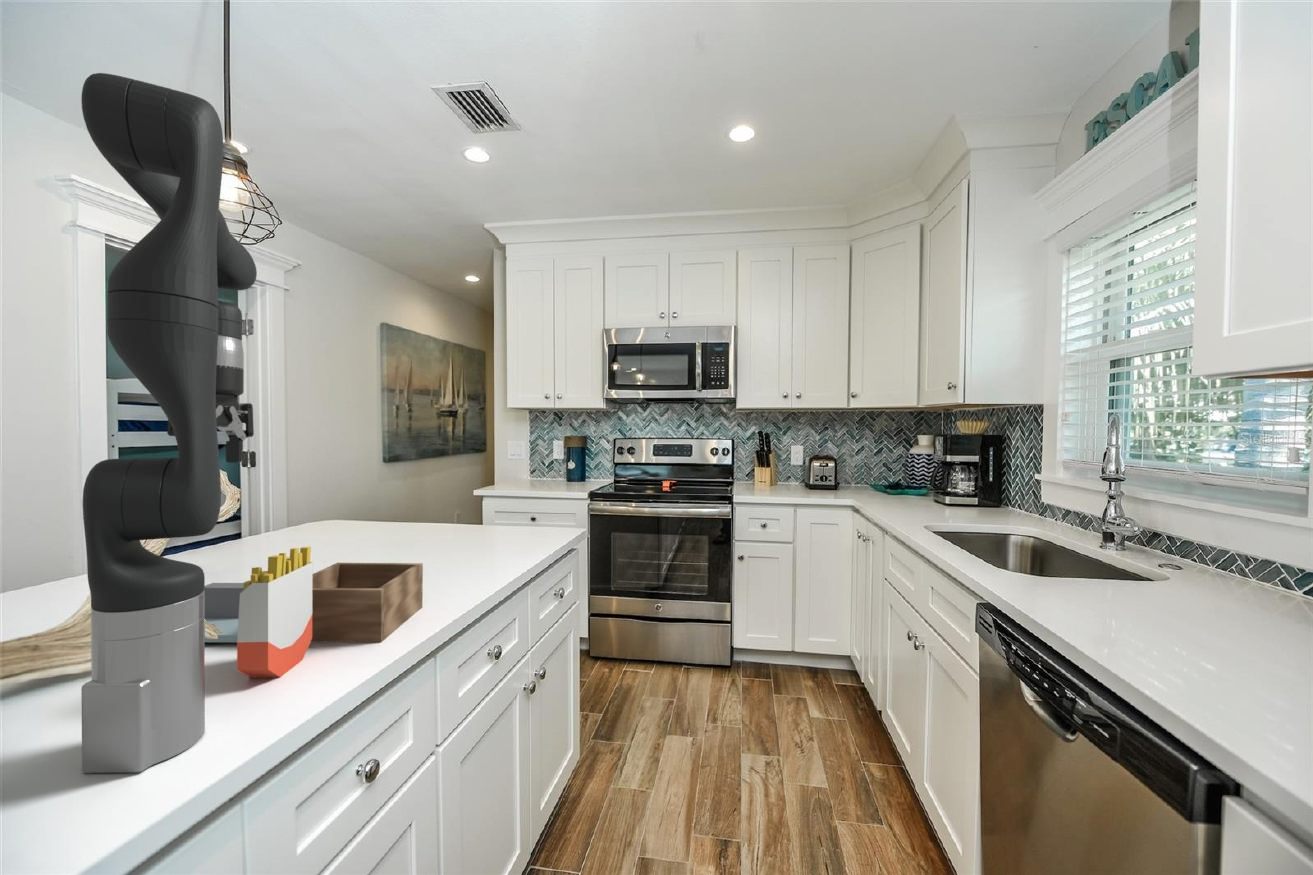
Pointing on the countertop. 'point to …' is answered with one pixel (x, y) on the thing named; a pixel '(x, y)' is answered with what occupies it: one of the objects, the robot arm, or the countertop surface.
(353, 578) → the wooden box
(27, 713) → the countertop surface
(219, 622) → the lid
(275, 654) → the french fries container
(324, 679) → the countertop surface
